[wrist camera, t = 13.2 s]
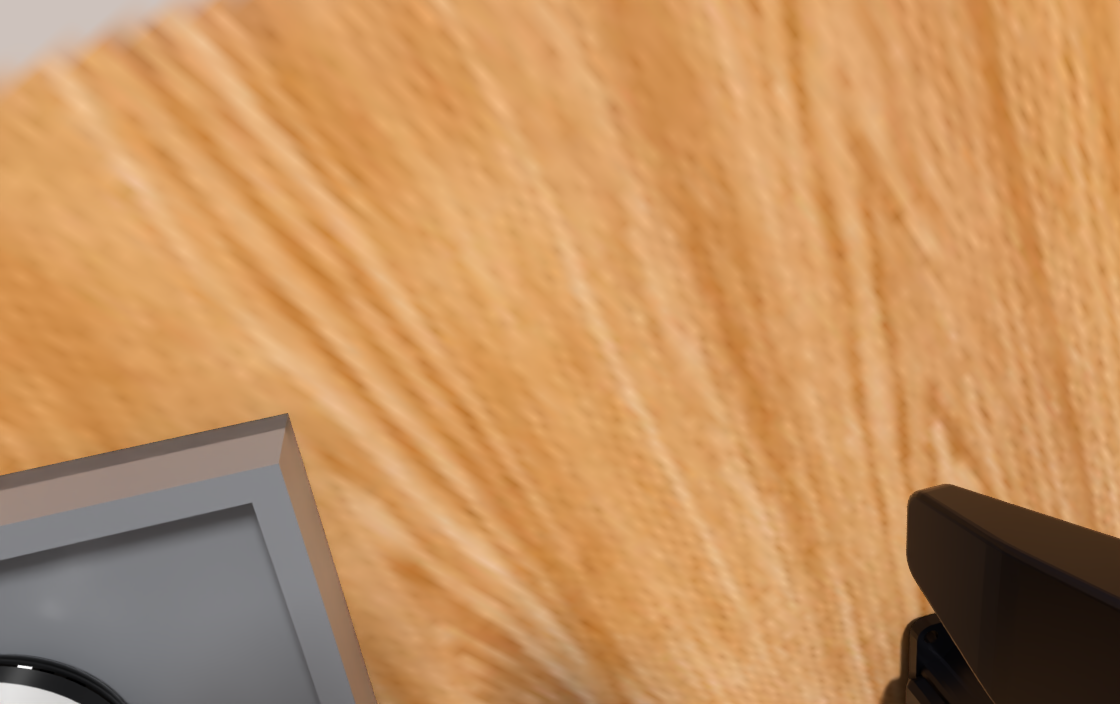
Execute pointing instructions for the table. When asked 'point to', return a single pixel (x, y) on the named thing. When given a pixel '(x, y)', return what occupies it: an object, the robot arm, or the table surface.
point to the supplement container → (49, 683)
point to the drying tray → (181, 572)
